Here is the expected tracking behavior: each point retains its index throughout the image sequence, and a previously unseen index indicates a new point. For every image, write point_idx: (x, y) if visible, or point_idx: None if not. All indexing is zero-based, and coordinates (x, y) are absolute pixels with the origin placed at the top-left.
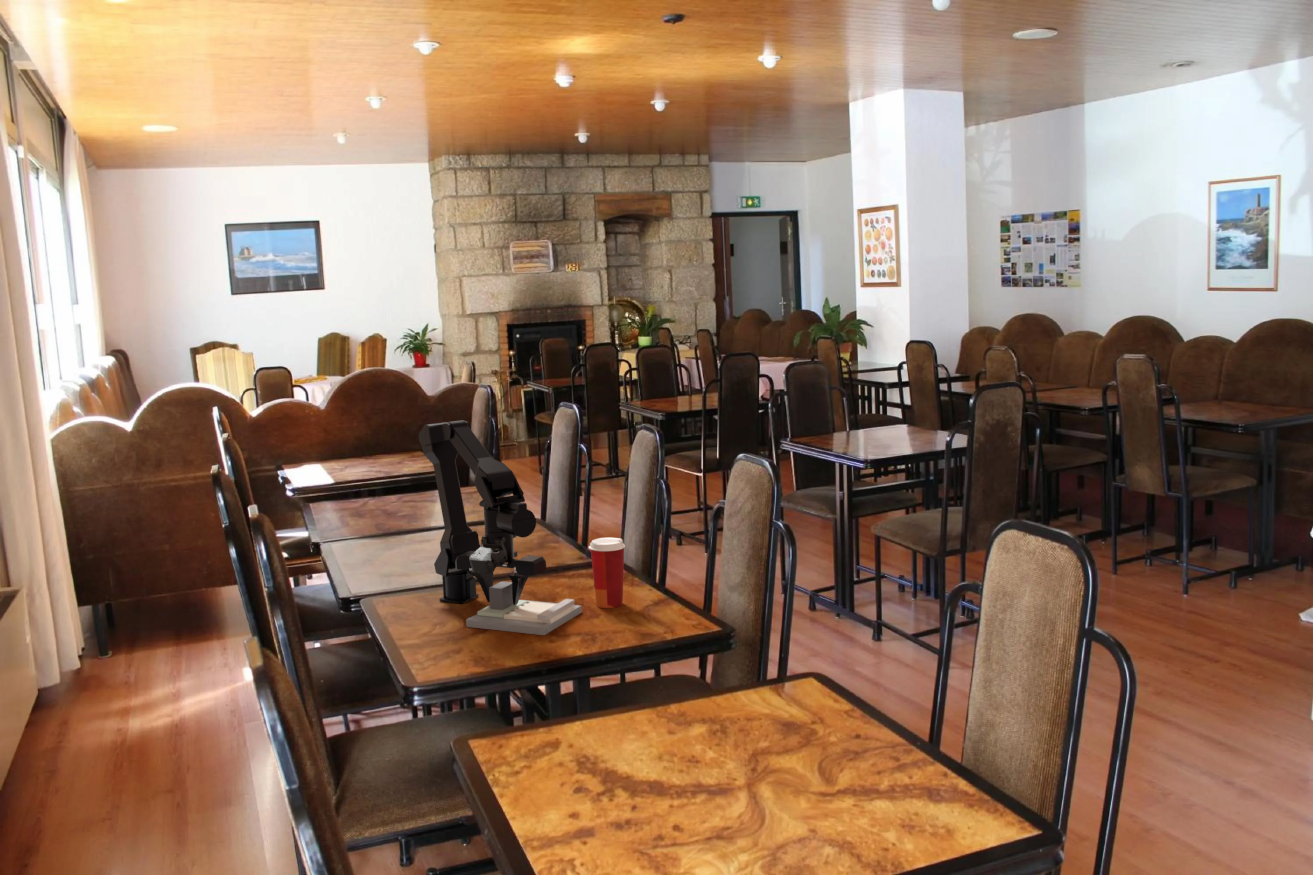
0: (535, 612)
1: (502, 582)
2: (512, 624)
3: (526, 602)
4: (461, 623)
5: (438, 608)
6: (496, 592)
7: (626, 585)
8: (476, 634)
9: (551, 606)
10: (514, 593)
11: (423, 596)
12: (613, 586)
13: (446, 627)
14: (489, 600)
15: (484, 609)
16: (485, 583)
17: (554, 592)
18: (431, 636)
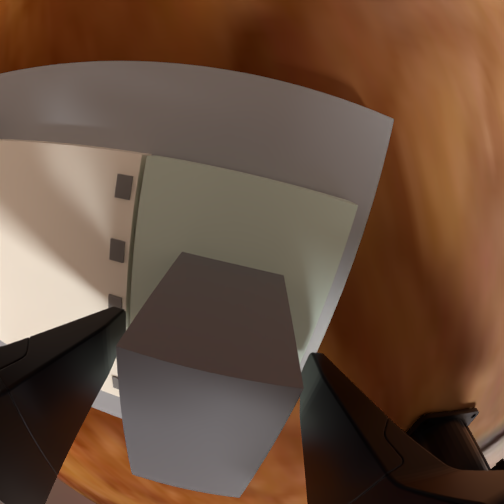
0: (12, 228)
1: (221, 486)
2: (77, 64)
3: None
4: (416, 184)
5: (489, 359)
6: (203, 335)
7: (65, 475)
8: (272, 4)
9: (10, 321)
10: (60, 333)
11: (494, 419)
12: None
13: (458, 123)
14: (311, 361)
15: (320, 256)
16: (361, 453)
17: (171, 486)
18: (458, 14)
